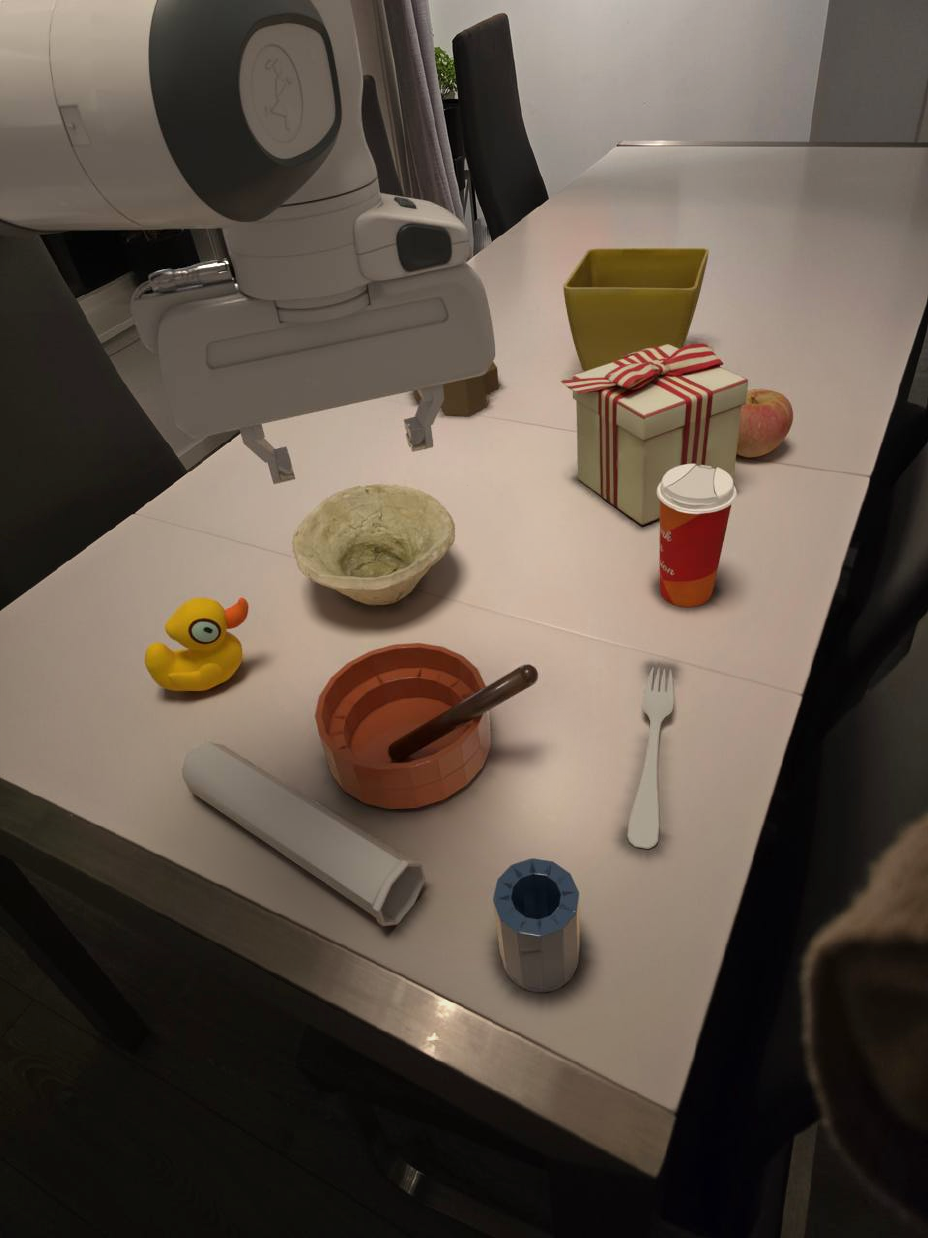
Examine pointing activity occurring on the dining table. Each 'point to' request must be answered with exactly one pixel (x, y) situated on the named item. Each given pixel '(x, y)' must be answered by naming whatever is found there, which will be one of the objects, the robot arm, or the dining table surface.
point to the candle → (467, 393)
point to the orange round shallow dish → (401, 725)
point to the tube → (306, 832)
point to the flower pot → (632, 300)
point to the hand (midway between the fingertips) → (353, 462)
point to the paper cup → (692, 531)
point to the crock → (537, 924)
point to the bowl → (373, 541)
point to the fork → (650, 764)
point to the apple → (763, 422)
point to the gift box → (654, 422)
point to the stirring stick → (464, 712)
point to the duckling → (198, 646)
